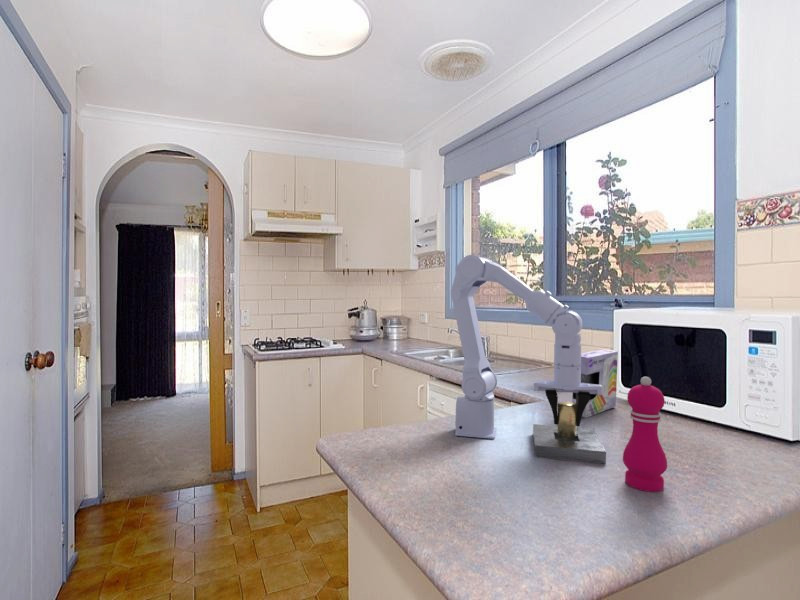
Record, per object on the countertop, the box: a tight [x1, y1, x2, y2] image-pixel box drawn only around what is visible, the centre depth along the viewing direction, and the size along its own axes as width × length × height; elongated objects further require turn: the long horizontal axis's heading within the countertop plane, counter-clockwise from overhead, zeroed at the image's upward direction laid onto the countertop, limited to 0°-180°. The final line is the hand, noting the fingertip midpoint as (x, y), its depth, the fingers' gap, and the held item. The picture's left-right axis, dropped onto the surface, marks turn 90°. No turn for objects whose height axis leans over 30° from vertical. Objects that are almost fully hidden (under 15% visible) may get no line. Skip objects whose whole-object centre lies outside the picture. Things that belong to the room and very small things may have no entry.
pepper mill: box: [622, 376, 668, 492], centre depth 84 cm, size 7×7×20 cm
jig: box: [532, 423, 607, 465], centre depth 103 cm, size 14×16×2 cm
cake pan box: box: [571, 348, 619, 419], centre depth 134 cm, size 19×5×18 cm, turn 129°
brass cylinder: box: [557, 401, 577, 438], centre depth 103 cm, size 4×4×7 cm
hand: (566, 424), depth 103 cm, fingers closed on brass cylinder, 4 cm apart
